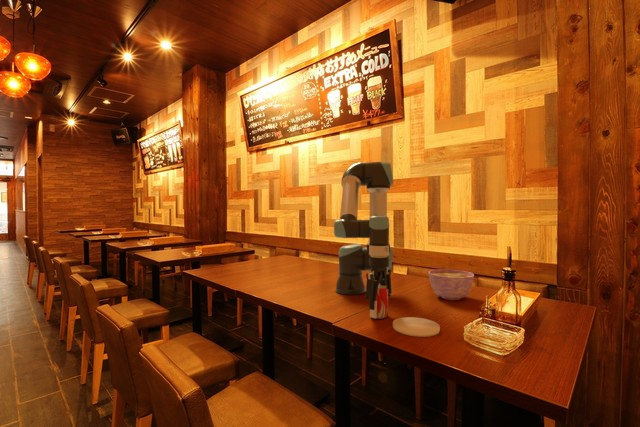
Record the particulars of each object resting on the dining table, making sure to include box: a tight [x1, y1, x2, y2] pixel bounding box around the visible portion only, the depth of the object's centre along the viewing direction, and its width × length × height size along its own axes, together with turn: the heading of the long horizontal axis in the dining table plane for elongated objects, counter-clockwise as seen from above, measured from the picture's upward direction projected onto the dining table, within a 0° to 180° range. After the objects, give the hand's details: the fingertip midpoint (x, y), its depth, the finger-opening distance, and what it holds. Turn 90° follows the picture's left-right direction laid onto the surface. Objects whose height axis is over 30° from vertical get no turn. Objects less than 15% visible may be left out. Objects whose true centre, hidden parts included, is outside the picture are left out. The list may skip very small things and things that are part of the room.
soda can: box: [375, 284, 389, 320], centre depth 131 cm, size 7×7×12 cm
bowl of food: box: [428, 268, 475, 301], centre depth 158 cm, size 20×20×12 cm
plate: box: [392, 316, 441, 338], centre depth 120 cm, size 16×16×1 cm
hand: (379, 315), depth 131 cm, fingers closed on soda can, 7 cm apart
